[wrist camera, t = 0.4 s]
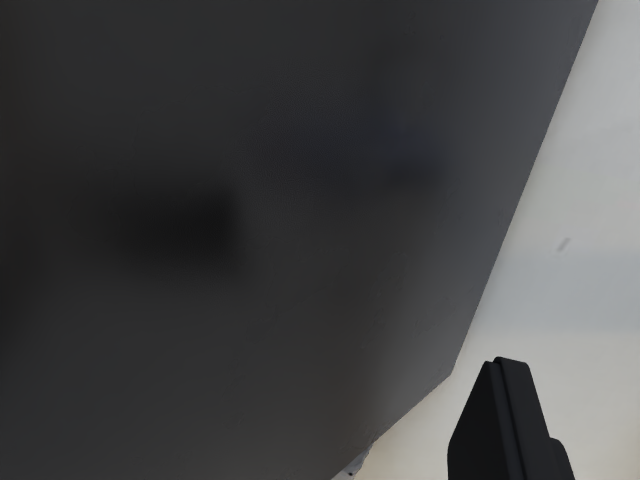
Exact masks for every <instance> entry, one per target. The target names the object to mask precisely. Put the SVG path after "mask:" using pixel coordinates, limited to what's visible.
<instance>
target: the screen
mask: <svg viewBox="0 0 640 480" xmlns="http://www.w3.org/2000/svg"><path fill="white" fill-rule="evenodd" d="M597 3H598V0H0V480H331V479H332V478H334V477H335V476H336V475H337V474H338V473H339V472H340V471H342V470H343V469H344V468H345V467H346V466H347V465H348V464H349V463H351V462H352V461H353V460H354V459H355V458H356V457H357V456H359V455H360V454H361V453H362V452H363V451H364V450H365V449H367V448H368V447H369V446H370V445H371V444H372V443H373V442H374V441H376V440H377V439H378V438H379V437H380V436H381V435H382V434H384V433H385V432H386V431H387V430H388V429H389V428H390V427H392V426H393V425H394V424H395V423H396V422H397V421H398V420H399V419H401V418H402V417H403V416H404V415H405V414H406V413H407V412H409V411H410V410H411V409H412V408H413V407H414V406H415V405H417V404H418V403H419V402H420V401H421V400H422V399H423V398H424V397H426V396H427V395H428V394H429V393H430V392H431V391H432V390H434V389H435V388H436V387H437V386H438V385H439V384H440V383H442V382H443V381H444V380H445V379H446V378H447V377H448V376H449V375H451V372H452V370H453V367H454V365H455V362H456V360H457V357H458V354H459V352H460V349H461V347H462V344H463V342H464V339H465V337H466V334H467V332H468V329H469V327H470V324H471V322H472V319H473V316H474V314H475V311H476V309H477V306H478V304H479V301H480V299H481V296H482V294H483V291H484V289H485V286H486V284H487V281H488V279H489V276H490V273H491V271H492V268H493V266H494V263H495V261H496V258H497V256H498V253H499V251H500V248H501V246H502V243H503V241H504V238H505V235H506V233H507V230H508V228H509V225H510V223H511V220H512V218H513V215H514V213H515V210H516V208H517V205H518V203H519V200H520V198H521V195H522V192H523V190H524V187H525V185H526V182H527V180H528V177H529V175H530V172H531V170H532V167H533V165H534V162H535V160H536V157H537V154H538V152H539V149H540V147H541V144H542V142H543V139H544V137H545V134H546V132H547V129H548V127H549V124H550V122H551V119H552V117H553V114H554V111H555V109H556V106H557V104H558V101H559V99H560V96H561V94H562V91H563V89H564V86H565V84H566V81H567V79H568V76H569V73H570V71H571V68H572V66H573V63H574V61H575V58H576V56H577V53H578V51H579V48H580V46H581V43H582V41H583V38H584V36H585V33H586V30H587V28H588V25H589V23H590V20H591V18H592V15H593V13H594V10H595V8H596V5H597Z"/></svg>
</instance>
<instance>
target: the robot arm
mask: <svg viewBox="0 0 640 480" xmlns="http://www.w3.org/2000/svg"><path fill="white" fill-rule="evenodd" d="M447 464H448V480H575V478H574V474H573V471H572V468H571V465H570V462H569V459H568V456H567V453H566V451H565V448H564V446H563V445H562V443H561V442H560V441H559V440H557V439H554V438H550V437H549V433H548V430H547V426H546V423H545V419H544V416H543V413H542V409H541V406H540V402H539V399H538V395H537V392H536V389H535V385H534V382H533V378H532V375H531V372H530V368H529V366H528V365H527V364H526V363H524V362H520V361H516V360H511V359H507V358H503V357H496V358H495V359H494V361H493V362H489V361H485V362H484V364H483V366H482V368H481V370H480V373H479V375H478V377H477V379H476V382H475V384H474V386H473V389H472V391H471V393H470V396H469V398H468V400H467V402H466V405H465V407H464V409H463V412H462V414H461V416H460V419H459V421H458V423H457V426H456V428H455V430H454V432H453V435H452V437H451V439H450V442H449V446H448V453H447Z"/></svg>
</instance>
